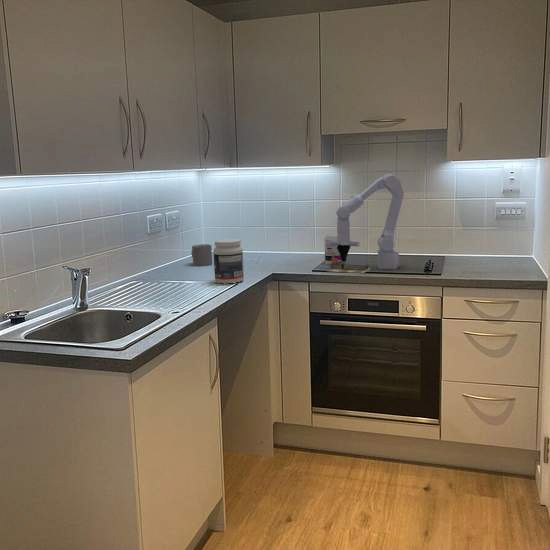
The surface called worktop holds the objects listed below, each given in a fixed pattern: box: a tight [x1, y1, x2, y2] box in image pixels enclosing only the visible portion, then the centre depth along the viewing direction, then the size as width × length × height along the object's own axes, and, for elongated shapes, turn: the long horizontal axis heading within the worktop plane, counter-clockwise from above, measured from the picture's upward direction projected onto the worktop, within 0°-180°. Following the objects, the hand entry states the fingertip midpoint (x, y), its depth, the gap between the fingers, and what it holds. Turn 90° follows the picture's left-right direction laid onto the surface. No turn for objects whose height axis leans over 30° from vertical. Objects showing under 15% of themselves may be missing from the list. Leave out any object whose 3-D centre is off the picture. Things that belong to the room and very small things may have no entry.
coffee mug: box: [191, 243, 213, 267], centre depth 323 cm, size 13×10×10 cm
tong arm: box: [338, 262, 366, 270], centre depth 287 cm, size 14×3×3 cm, turn 61°
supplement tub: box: [212, 238, 245, 284], centre depth 272 cm, size 13×13×18 cm
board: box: [326, 267, 372, 274], centre depth 287 cm, size 18×12×1 cm, turn 63°
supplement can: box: [324, 234, 343, 266], centre depth 305 cm, size 8×8×15 cm
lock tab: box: [332, 258, 338, 263], centre depth 291 cm, size 2×2×2 cm
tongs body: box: [330, 263, 369, 270], centre depth 288 cm, size 17×4×2 cm, turn 63°
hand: (343, 261), depth 289 cm, fingers closed
